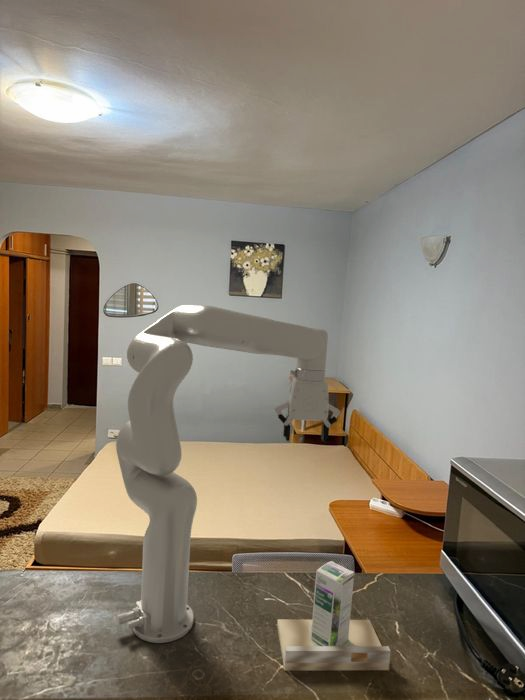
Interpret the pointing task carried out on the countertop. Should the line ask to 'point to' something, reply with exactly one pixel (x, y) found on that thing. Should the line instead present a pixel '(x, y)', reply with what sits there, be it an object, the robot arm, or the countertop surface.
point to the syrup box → (332, 605)
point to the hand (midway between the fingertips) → (305, 440)
